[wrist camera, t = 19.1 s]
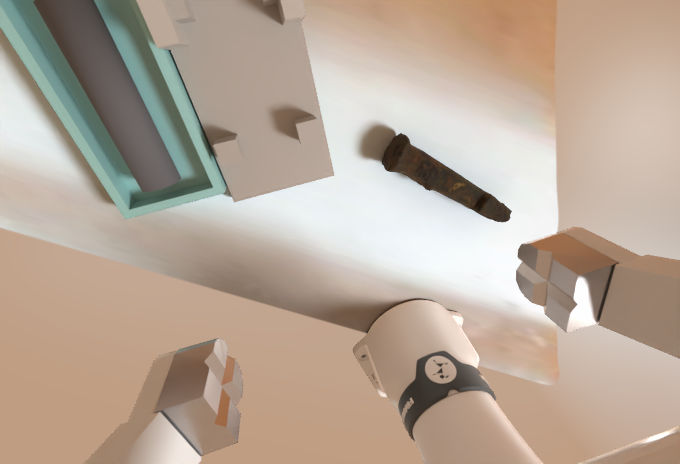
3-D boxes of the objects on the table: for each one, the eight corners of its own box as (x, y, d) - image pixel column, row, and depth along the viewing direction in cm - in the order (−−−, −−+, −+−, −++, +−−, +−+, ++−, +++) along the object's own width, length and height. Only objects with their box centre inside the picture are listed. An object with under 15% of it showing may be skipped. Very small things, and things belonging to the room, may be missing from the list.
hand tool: (375, 161, 35) (389, 173, 31) (395, 129, 33) (413, 138, 29) (479, 224, 43) (501, 241, 39) (498, 201, 41) (523, 215, 37)
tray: (227, 184, 32) (224, 193, 30) (134, 208, 31) (125, 219, 29) (131, -46, 22) (116, -59, 20) (-6, -21, 22) (-37, -30, 19)
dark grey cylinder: (186, 173, 30) (172, 187, 27) (152, 180, 30) (134, 195, 27) (102, -2, 23) (70, -10, 20) (58, 8, 23) (19, 1, 20)
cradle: (332, 171, 34) (341, 186, 30) (235, 197, 33) (231, 216, 29) (271, -105, 23) (273, -142, 18) (121, -78, 22) (87, -111, 17)
